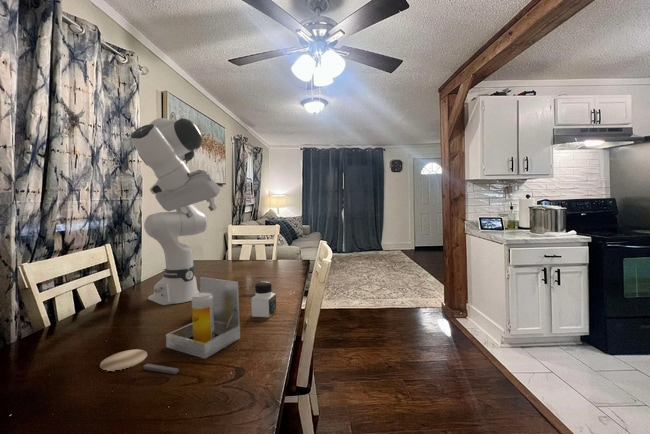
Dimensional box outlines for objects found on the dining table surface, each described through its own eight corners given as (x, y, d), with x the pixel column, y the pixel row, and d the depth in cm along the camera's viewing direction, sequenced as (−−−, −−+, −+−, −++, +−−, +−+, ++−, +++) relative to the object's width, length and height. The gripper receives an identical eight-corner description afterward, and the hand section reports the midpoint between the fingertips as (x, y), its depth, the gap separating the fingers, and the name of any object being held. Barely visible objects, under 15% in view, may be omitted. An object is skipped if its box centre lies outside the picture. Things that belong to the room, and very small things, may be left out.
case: (166, 347, 93) (163, 288, 92) (203, 329, 106) (201, 277, 105) (205, 358, 86) (202, 294, 85) (240, 338, 99) (238, 281, 98)
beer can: (197, 338, 99) (195, 292, 98) (217, 337, 99) (215, 291, 98) (190, 347, 93) (188, 298, 92) (211, 346, 93) (209, 297, 92)
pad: (90, 365, 84) (90, 364, 84) (131, 347, 94) (131, 346, 94) (115, 375, 79) (115, 373, 79) (155, 355, 89) (155, 354, 89)
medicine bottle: (269, 317, 115) (268, 285, 114) (251, 316, 116) (250, 285, 116) (276, 310, 122) (275, 280, 121) (259, 310, 123) (258, 280, 123)
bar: (143, 370, 82) (143, 365, 82) (147, 367, 83) (147, 363, 83) (175, 375, 79) (175, 371, 79) (178, 373, 80) (178, 368, 80)
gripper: (208, 163, 94) (232, 199, 102) (156, 181, 100) (182, 214, 108) (199, 172, 89) (225, 210, 97) (145, 191, 95) (173, 226, 103)
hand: (202, 213), depth 102 cm, fingers open, 8 cm apart
